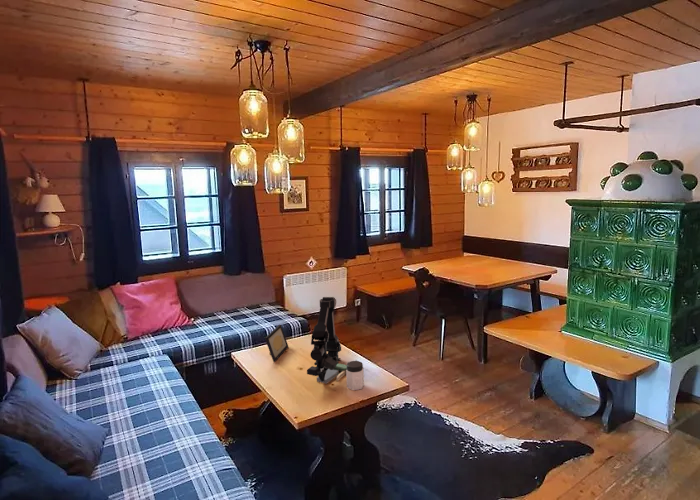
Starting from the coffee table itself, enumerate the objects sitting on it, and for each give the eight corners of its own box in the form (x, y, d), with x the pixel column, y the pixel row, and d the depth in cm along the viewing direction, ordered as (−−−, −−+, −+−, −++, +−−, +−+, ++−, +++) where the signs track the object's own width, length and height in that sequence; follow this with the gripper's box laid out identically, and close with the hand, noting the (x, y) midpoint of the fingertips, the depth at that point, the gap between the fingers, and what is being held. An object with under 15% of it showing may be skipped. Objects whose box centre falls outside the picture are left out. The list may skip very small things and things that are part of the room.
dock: (328, 367, 244) (327, 360, 244) (353, 372, 236) (352, 365, 236) (315, 376, 234) (315, 369, 233) (341, 381, 226) (341, 375, 225)
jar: (348, 391, 215) (347, 368, 213) (345, 384, 223) (344, 362, 221) (366, 388, 217) (365, 366, 215) (362, 381, 225) (361, 359, 223)
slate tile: (329, 373, 238) (329, 368, 237) (338, 375, 235) (338, 370, 234) (316, 382, 228) (316, 377, 227) (326, 384, 225) (326, 379, 224)
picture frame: (275, 361, 254) (271, 337, 252) (261, 362, 256) (256, 338, 254) (288, 346, 277) (284, 324, 274) (275, 347, 278) (271, 325, 276)
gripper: (324, 362, 210) (325, 392, 213) (343, 348, 226) (345, 376, 229) (305, 358, 216) (307, 387, 218) (325, 345, 232) (327, 373, 234)
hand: (322, 381), depth 225 cm, fingers closed
